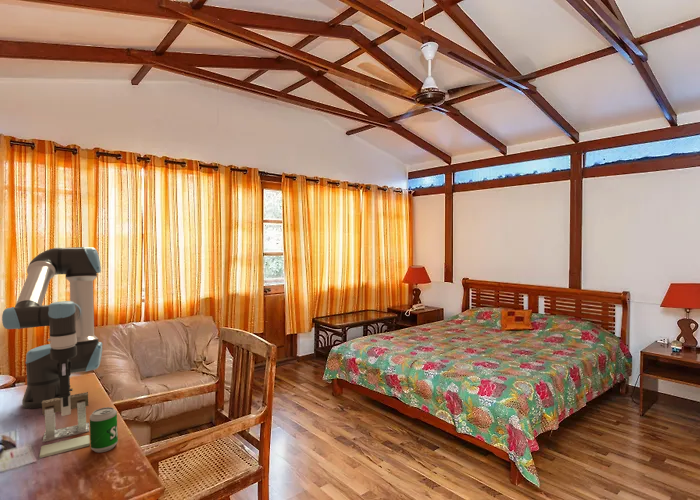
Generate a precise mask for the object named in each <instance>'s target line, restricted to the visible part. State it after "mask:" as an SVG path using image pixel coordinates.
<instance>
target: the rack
mask: <svg viewBox="0 0 700 500" xmlns="http://www.w3.org/2000/svg"><path fill="white" fill-rule="evenodd" d="M86 407H87V406H86V405H85V401H82V402H77V408H76V410H77V413H76V414H77V424H76V425H71V426H67V427H62V428H58V429H57V428H56V427H57V426H56V412H55V413H54V407H52V408H47V409H45V415H44V426H45V431H44V433H43V439H42V443H45V442H46V443H47V442H49V441H54V440H59V439H63V438H66V437H71V436H76V435H80V434H83V433H88V432H89V433H90V421H89V422H87V408H86Z"/></svg>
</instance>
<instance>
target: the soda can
mask: <svg viewBox="0 0 700 500" xmlns="http://www.w3.org/2000/svg"><path fill="white" fill-rule="evenodd" d="M118 432H119V431H118V412H117V409H115V408H114V407H110V406H107V407H101V408H98V409H95V410H94V411H93V412H92V413H91V414H90V415H89V433H90V435H89V440H90V449H91V450H92V451H94V452H95V453H104V452H108V451H111V450H113V449H114V448H115V446H116V445H117V444H118V443H119V438H118V437H119V435H118Z"/></svg>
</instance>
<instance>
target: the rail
mask: <svg viewBox="0 0 700 500" xmlns="http://www.w3.org/2000/svg"><path fill="white" fill-rule="evenodd" d="M82 401H85V405H86V407H88V406H89V392H88V391H85V392H81V393H76V394H71V395H70V402H71V410H74V409H77V402H82ZM52 407H54V413H55V414H56V413H59V412H60V413H61V398H54V399H49V400H43V402H42V407H41V409H42V410H41V412H42V416H45V409H47V408H52Z"/></svg>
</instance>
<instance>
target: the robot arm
mask: <svg viewBox="0 0 700 500" xmlns="http://www.w3.org/2000/svg"><path fill="white" fill-rule="evenodd" d="M101 272H102V270H101V260H100V255H99V252H98V250H97V249H96V248H95V247H91V246H90V247H89V246H77V247H76V246H74V247H52V248H49V249H47V250H44V251H42V252H40V253H39V254H37V255H36V256H35V257H33V259H32V260H31V261H30V262H29V264H28V266H27V269H26V273H27V276H26V279H25V281H24V284H23V287H22V289H21V291H20V293H19V296H18V298H17V301H16V304H15V306H14V307H13V306H11V307H7V308H5V309H4V310H3V311H2V315H1V321H2V326H3V328H4V329H7V330H14V329H15V330H21V329H29V328H38V327H39V328H40V327H49V338H47V342H50V343H49V344H43V345H40V346H36V347H34V348H32V349H30V350H28V351H27V352H26V354H25V371H26V389H25V392H24V394H23V397H22V400H21V401H22V402H21V403H22V404H21V407H22V408H24V409H39V408H41V409H42V402H43V400H49V399H54V398H61V411H60V414H61V417H64V416H68V415H71V414H72V409H71V402H70V395H72V394H71V392H73V391H74V390H73V388H71V381H70V380H71V379H70V376H71V374H75V373H82V372H86V373H87V372H89V371H94V370H98V369H99V367H100V365H101V362H102V354H103V342H101V341H99V337H97V336H96V335H95V312H94V311H95V307H94V306H95V305H94V303H95V302H94V301H95V300H94V281H95V280H96V279H97V278H98V274H99V273H100V274H101ZM56 275H65V279H66V280H67V281H68V283H69V300H61V301H55V302H51V303H49V304H45V305H44V304H43V302H44V300H45V296H46V294H47V291H48V288H49V284H50V282H51V280H52V279H53V278H54V277H55V276H56Z"/></svg>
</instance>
